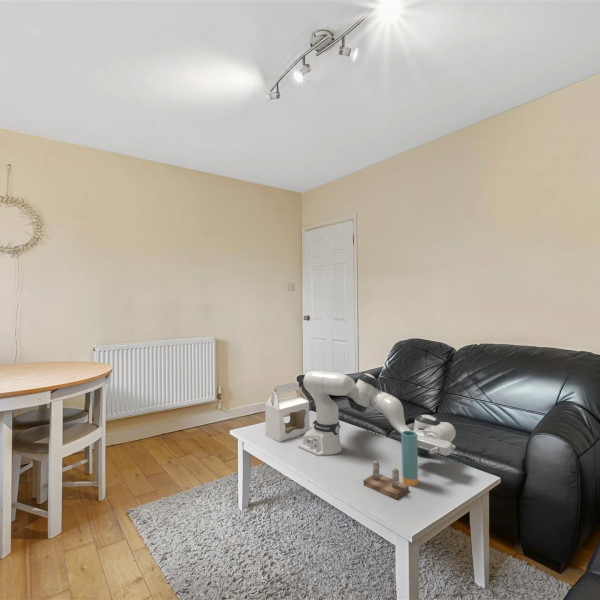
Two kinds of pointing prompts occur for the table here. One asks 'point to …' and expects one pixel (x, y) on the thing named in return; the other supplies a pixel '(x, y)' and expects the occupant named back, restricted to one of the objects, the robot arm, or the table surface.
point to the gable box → (278, 409)
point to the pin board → (386, 483)
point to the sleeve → (409, 458)
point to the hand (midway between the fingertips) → (418, 448)
